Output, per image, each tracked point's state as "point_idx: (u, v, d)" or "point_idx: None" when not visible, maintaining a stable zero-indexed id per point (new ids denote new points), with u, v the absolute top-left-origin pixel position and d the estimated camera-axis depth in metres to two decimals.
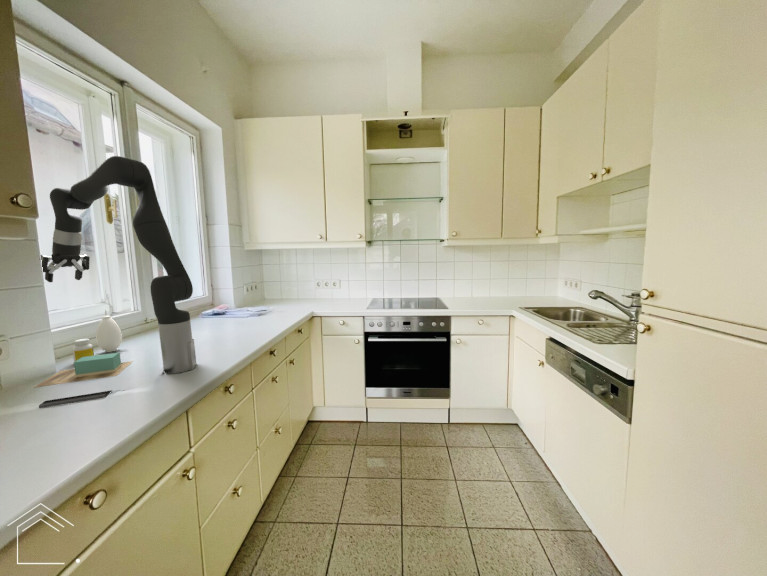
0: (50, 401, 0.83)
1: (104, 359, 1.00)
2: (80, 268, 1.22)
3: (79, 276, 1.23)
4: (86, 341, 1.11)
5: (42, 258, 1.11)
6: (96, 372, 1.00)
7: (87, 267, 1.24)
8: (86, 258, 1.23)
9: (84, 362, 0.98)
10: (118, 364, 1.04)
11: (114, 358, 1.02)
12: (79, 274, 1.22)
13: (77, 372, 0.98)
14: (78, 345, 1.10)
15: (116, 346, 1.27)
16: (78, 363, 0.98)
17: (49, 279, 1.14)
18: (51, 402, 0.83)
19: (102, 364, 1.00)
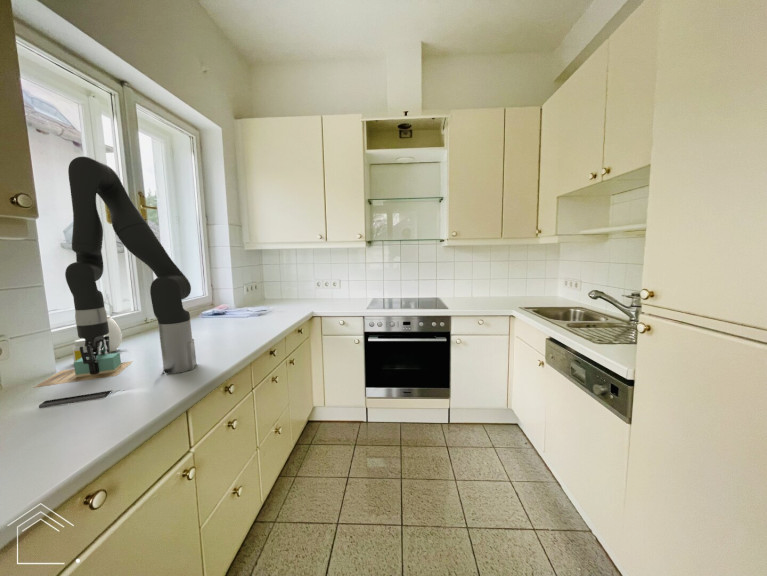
0: (50, 401, 0.83)
1: (104, 359, 1.00)
2: (106, 351, 1.05)
3: None
4: None
5: (86, 349, 0.95)
6: None
7: (108, 349, 1.07)
8: (107, 338, 1.07)
9: None
10: (118, 364, 1.04)
11: (114, 358, 1.02)
12: None
13: (77, 372, 0.98)
14: (78, 345, 1.10)
15: (116, 346, 1.27)
16: (78, 363, 0.98)
17: (96, 370, 0.99)
18: (51, 402, 0.83)
19: (102, 364, 1.00)
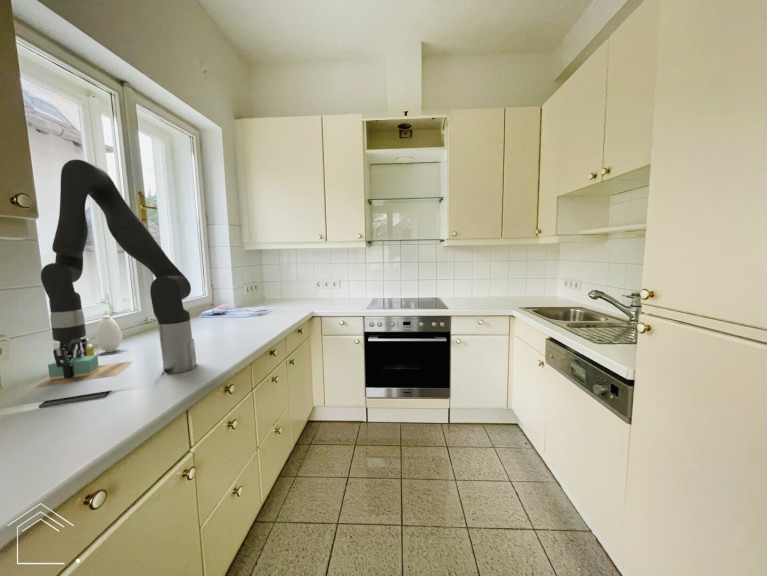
0: (50, 401, 0.83)
1: (80, 362, 0.98)
2: (82, 355, 1.02)
3: None
4: None
5: (59, 352, 0.92)
6: None
7: (85, 352, 1.04)
8: (85, 341, 1.04)
9: None
10: (95, 367, 1.02)
11: (91, 361, 1.00)
12: None
13: (51, 375, 0.95)
14: None
15: (116, 346, 1.27)
16: (53, 365, 0.95)
17: (71, 373, 0.97)
18: (51, 402, 0.83)
19: (77, 367, 0.98)
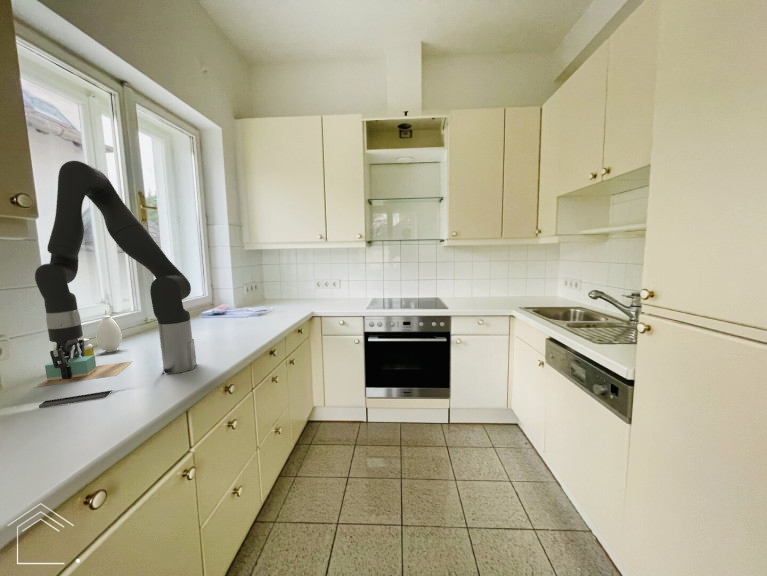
0: (50, 401, 0.83)
1: (77, 362, 0.97)
2: (80, 355, 1.02)
3: None
4: (86, 341, 1.11)
5: (56, 353, 0.92)
6: None
7: (83, 353, 1.04)
8: (82, 341, 1.04)
9: None
10: (92, 367, 1.02)
11: (88, 361, 0.99)
12: None
13: (49, 375, 0.95)
14: None
15: (116, 346, 1.27)
16: (50, 366, 0.95)
17: (69, 374, 0.96)
18: (51, 402, 0.83)
19: (75, 367, 0.97)
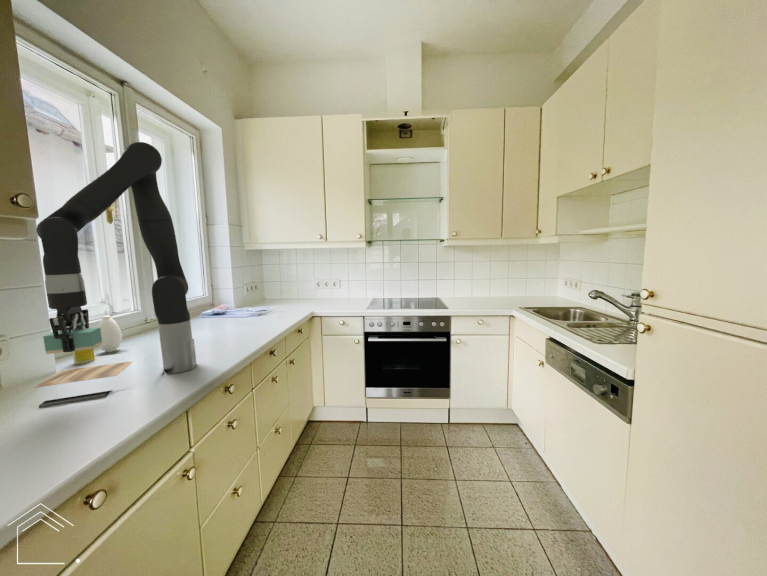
0: (50, 401, 0.83)
1: (80, 333, 0.85)
2: (84, 327, 0.89)
3: None
4: None
5: (57, 321, 0.79)
6: None
7: (87, 325, 0.91)
8: (86, 312, 0.91)
9: None
10: (98, 341, 0.89)
11: (93, 333, 0.86)
12: None
13: (47, 348, 0.82)
14: None
15: (116, 346, 1.27)
16: (49, 337, 0.82)
17: (71, 347, 0.83)
18: (51, 402, 0.83)
19: (77, 339, 0.84)
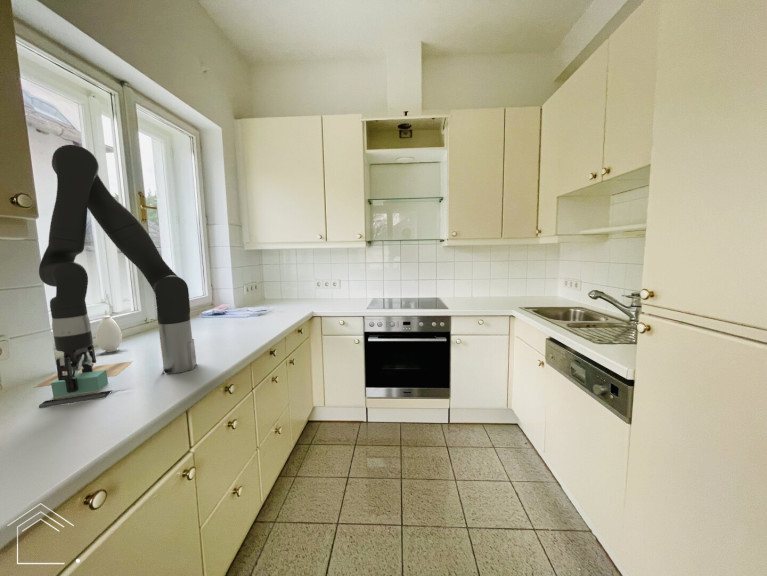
0: (50, 401, 0.83)
1: (87, 378, 0.86)
2: (91, 362, 0.92)
3: None
4: None
5: (63, 361, 0.81)
6: None
7: (94, 359, 0.94)
8: (91, 348, 0.93)
9: (64, 382, 0.84)
10: (104, 383, 0.91)
11: (99, 377, 0.88)
12: (91, 371, 0.92)
13: (55, 394, 0.84)
14: None
15: (116, 346, 1.27)
16: (56, 384, 0.84)
17: (75, 387, 0.84)
18: (51, 402, 0.83)
19: (84, 384, 0.86)
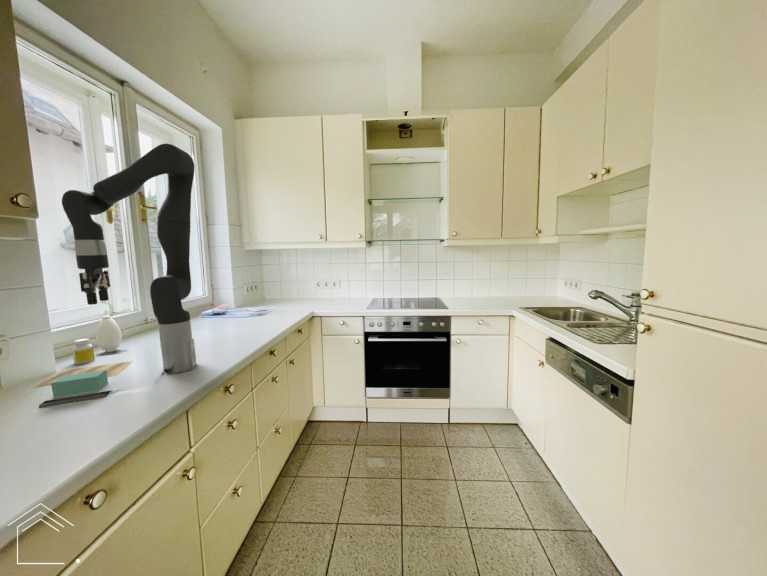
0: (50, 401, 0.83)
1: (87, 378, 0.86)
2: (106, 285, 1.05)
3: (107, 295, 1.05)
4: (86, 341, 1.11)
5: (85, 275, 0.94)
6: None
7: (109, 284, 1.07)
8: (106, 273, 1.06)
9: (64, 382, 0.84)
10: (104, 383, 0.91)
11: (99, 377, 0.88)
12: (106, 293, 1.05)
13: (55, 394, 0.84)
14: (78, 345, 1.10)
15: (116, 346, 1.27)
16: (56, 384, 0.84)
17: (94, 300, 0.97)
18: (51, 402, 0.83)
19: (84, 384, 0.86)
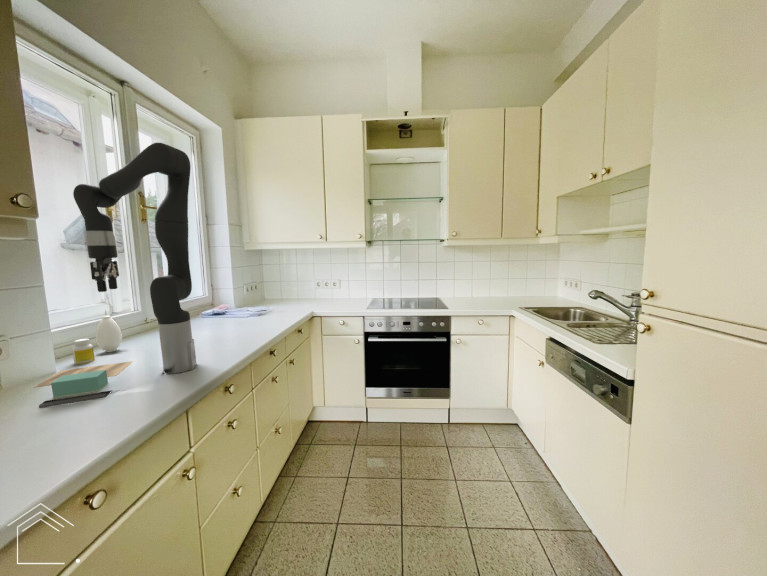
0: (50, 401, 0.83)
1: (87, 378, 0.86)
2: (115, 274, 1.11)
3: (116, 284, 1.12)
4: (86, 341, 1.11)
5: (95, 264, 1.00)
6: None
7: (118, 273, 1.13)
8: (115, 263, 1.12)
9: (64, 382, 0.84)
10: (104, 383, 0.91)
11: (99, 377, 0.88)
12: (115, 282, 1.12)
13: (55, 394, 0.84)
14: (78, 345, 1.10)
15: (116, 346, 1.27)
16: (56, 384, 0.84)
17: (104, 288, 1.03)
18: (51, 402, 0.83)
19: (84, 384, 0.86)
